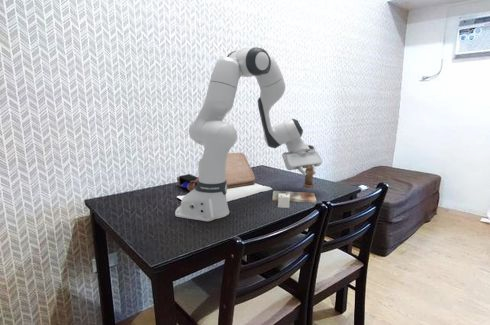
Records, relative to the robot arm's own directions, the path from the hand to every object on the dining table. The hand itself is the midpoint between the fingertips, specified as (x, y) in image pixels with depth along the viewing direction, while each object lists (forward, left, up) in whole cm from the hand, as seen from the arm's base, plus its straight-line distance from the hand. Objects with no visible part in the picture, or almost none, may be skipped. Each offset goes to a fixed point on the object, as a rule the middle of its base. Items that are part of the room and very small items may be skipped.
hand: (309, 174), depth 141 cm
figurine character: (-62, +6, -12) cm, 64 cm away
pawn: (0, +1, -6) cm, 6 cm away
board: (-7, 0, -12) cm, 14 cm away
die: (-12, -11, -12) cm, 20 cm away
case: (-41, +22, -12) cm, 48 cm away
